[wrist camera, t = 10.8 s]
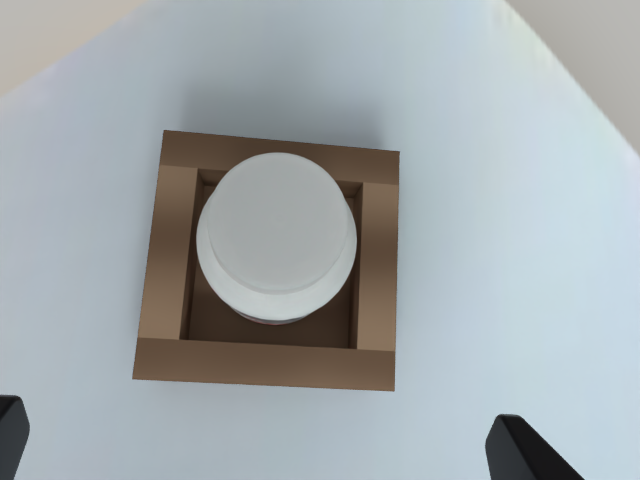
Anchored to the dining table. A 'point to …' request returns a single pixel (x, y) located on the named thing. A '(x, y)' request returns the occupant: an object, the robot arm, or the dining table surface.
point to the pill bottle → (276, 238)
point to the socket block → (254, 338)
